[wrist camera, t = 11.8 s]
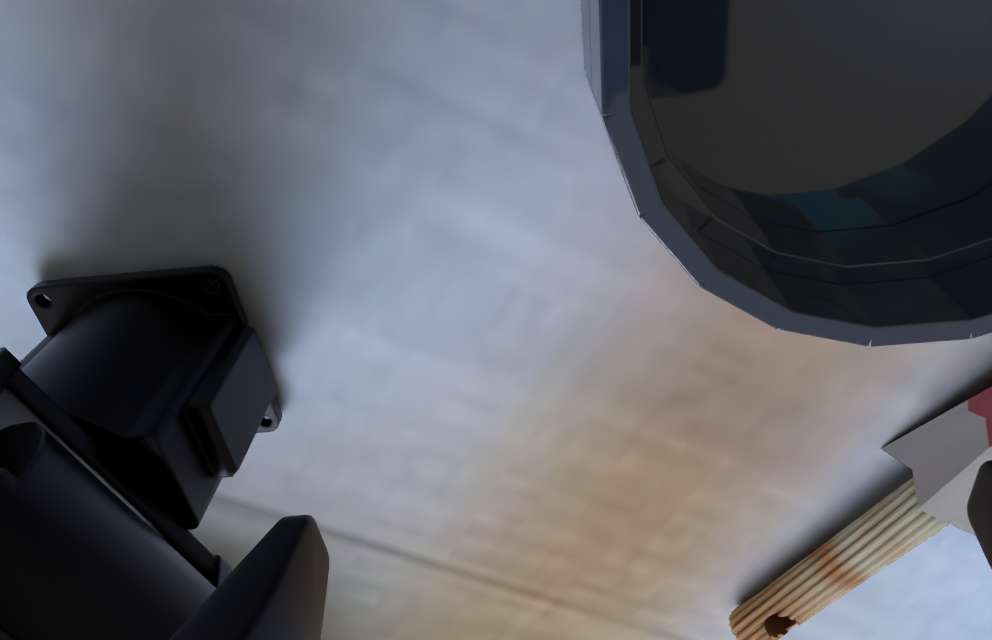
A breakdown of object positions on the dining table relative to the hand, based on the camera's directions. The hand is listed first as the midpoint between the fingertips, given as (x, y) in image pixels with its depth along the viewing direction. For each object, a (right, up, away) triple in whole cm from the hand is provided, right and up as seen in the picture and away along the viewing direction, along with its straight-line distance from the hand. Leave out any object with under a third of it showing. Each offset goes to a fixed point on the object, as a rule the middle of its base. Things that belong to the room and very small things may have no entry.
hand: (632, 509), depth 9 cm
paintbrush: (+14, -3, +16) cm, 21 cm away
